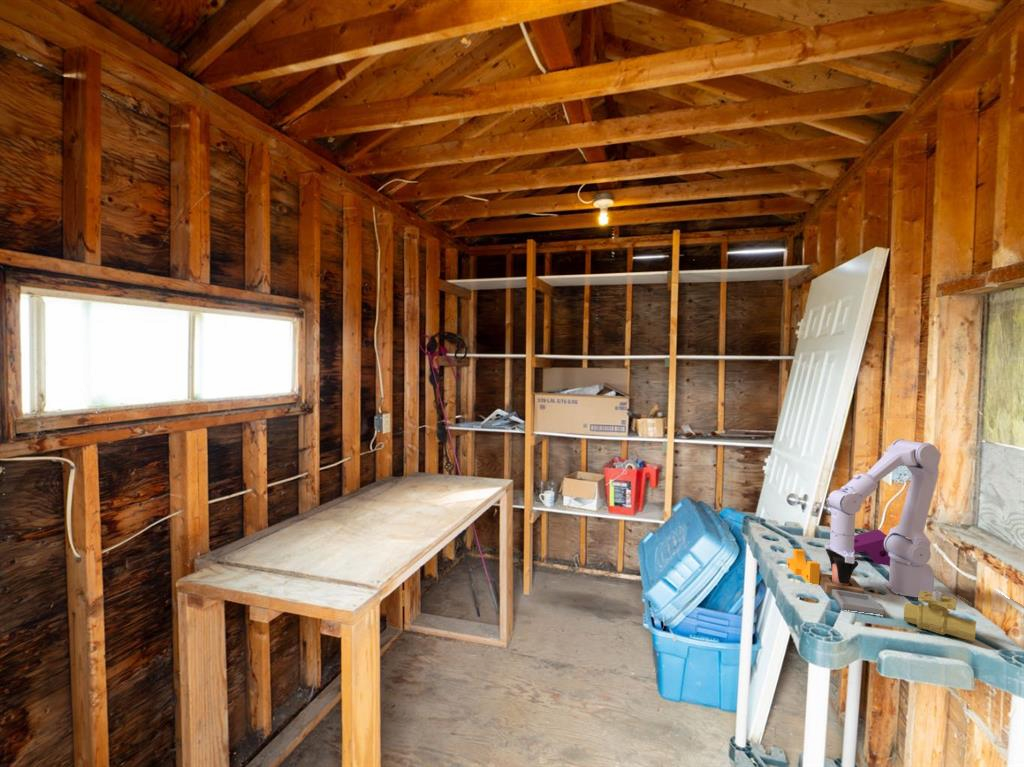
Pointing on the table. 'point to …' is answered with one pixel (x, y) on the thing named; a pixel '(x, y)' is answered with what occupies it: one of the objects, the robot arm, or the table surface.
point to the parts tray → (856, 602)
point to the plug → (836, 575)
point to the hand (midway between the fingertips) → (840, 579)
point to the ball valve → (939, 616)
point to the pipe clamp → (804, 567)
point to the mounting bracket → (872, 546)
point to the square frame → (838, 585)
